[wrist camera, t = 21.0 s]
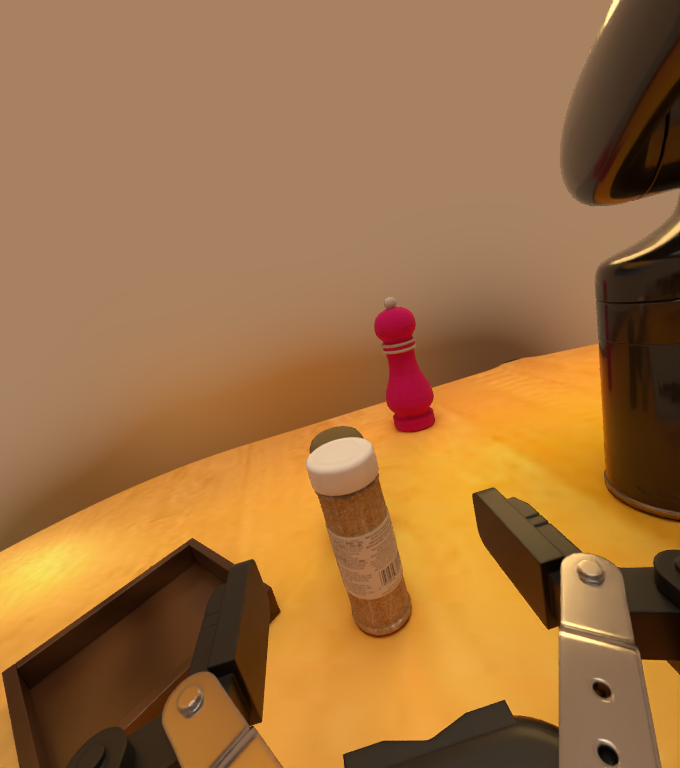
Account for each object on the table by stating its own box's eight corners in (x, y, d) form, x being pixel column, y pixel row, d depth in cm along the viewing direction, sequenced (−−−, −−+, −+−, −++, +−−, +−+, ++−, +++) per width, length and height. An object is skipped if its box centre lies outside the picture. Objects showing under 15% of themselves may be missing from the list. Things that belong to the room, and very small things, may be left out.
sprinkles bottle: (385, 575, 30) (347, 429, 27) (425, 609, 26) (387, 444, 23) (341, 610, 28) (292, 456, 24) (377, 653, 24) (326, 478, 21)
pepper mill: (427, 434, 52) (399, 297, 47) (384, 432, 57) (355, 306, 52) (444, 414, 58) (422, 288, 53) (404, 413, 62) (379, 297, 57)
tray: (200, 556, 38) (192, 537, 38) (280, 611, 29) (271, 587, 29) (17, 696, 28) (1, 672, 27) (52, 852, 18) (29, 822, 18)
